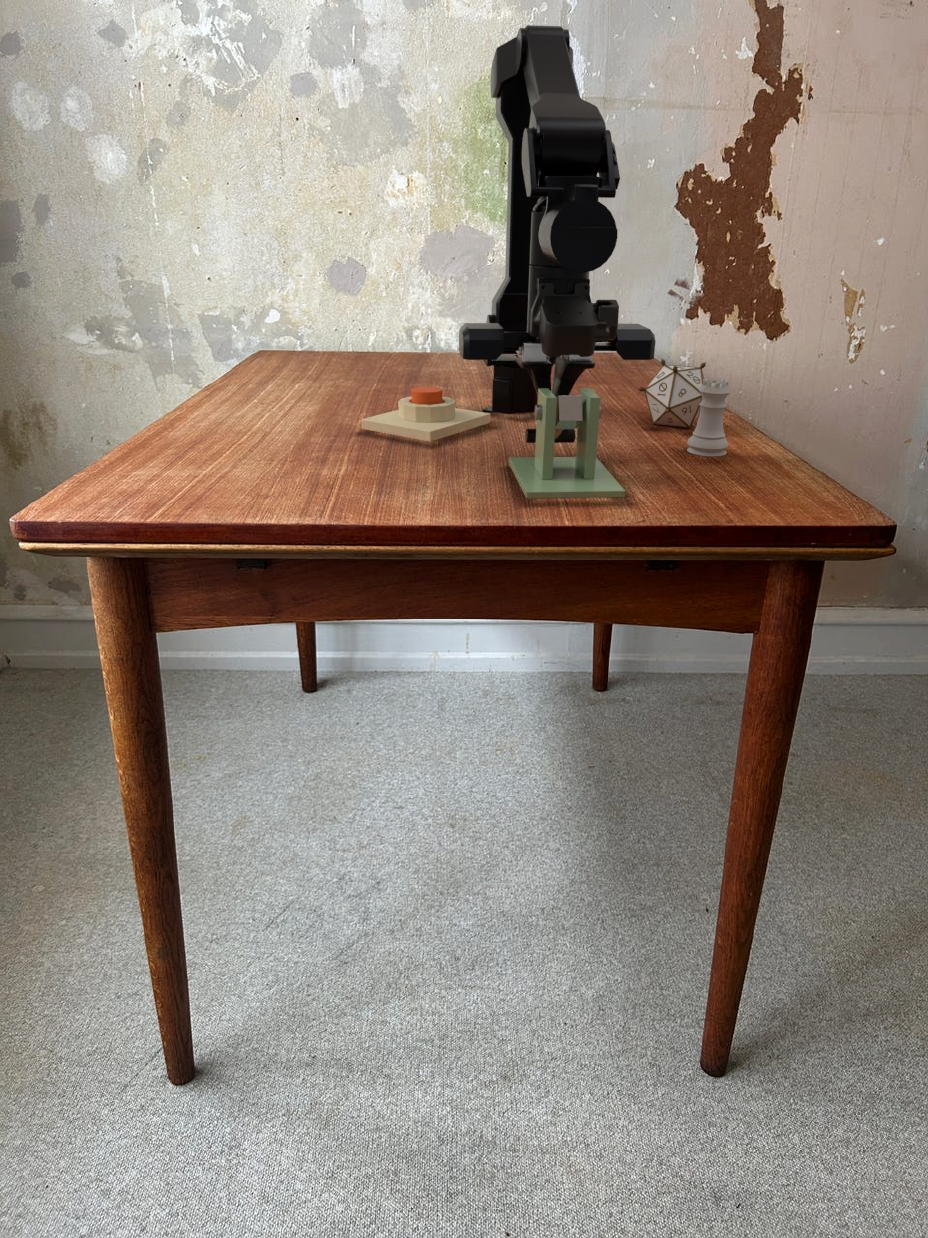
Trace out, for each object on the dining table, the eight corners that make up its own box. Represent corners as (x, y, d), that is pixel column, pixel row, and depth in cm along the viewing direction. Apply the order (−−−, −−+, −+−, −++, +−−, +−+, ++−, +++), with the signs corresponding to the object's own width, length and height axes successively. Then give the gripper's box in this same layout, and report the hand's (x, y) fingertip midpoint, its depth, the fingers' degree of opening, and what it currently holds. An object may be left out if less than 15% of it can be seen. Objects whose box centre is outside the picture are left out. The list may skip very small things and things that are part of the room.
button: (424, 400, 106) (424, 385, 106) (448, 403, 104) (448, 388, 104) (405, 404, 104) (405, 389, 103) (430, 408, 102) (429, 393, 101)
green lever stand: (508, 468, 91) (511, 380, 87) (595, 467, 91) (602, 380, 88) (526, 504, 80) (530, 406, 76) (624, 503, 80) (633, 405, 77)
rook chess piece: (704, 463, 93) (714, 386, 90) (676, 454, 97) (685, 379, 94) (736, 459, 95) (747, 383, 92) (707, 449, 99) (717, 376, 95)
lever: (525, 449, 92) (524, 426, 92) (573, 448, 92) (572, 425, 92) (544, 421, 81) (543, 395, 81) (598, 420, 81) (597, 394, 81)
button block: (424, 416, 112) (424, 388, 111) (490, 427, 107) (490, 398, 106) (361, 433, 103) (360, 403, 102) (430, 446, 98) (430, 415, 97)
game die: (682, 457, 110) (739, 392, 107) (670, 447, 102) (731, 376, 99) (629, 413, 112) (683, 348, 110) (613, 400, 105) (671, 329, 102)
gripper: (469, 270, 77) (467, 449, 83) (681, 272, 78) (661, 447, 85) (459, 262, 87) (457, 422, 93) (646, 264, 88) (631, 421, 95)
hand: (550, 428), depth 91 cm, fingers closed, pressing on lever
